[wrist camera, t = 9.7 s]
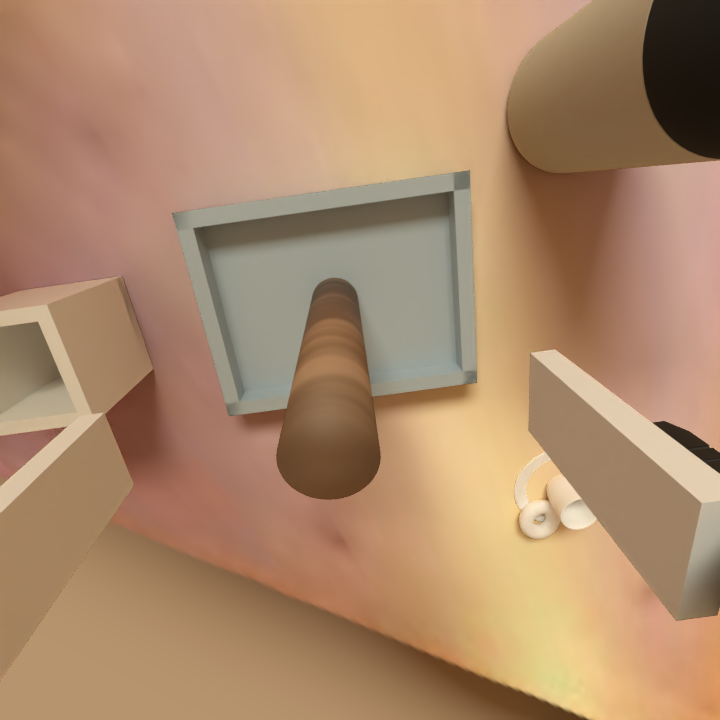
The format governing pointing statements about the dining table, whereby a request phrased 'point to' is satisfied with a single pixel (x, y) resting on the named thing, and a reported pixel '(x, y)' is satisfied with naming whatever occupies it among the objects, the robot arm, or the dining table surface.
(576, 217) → the dining table surface
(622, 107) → the travel mug
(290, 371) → the tray
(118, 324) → the square open box
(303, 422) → the dowel
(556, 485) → the cream curved piece
